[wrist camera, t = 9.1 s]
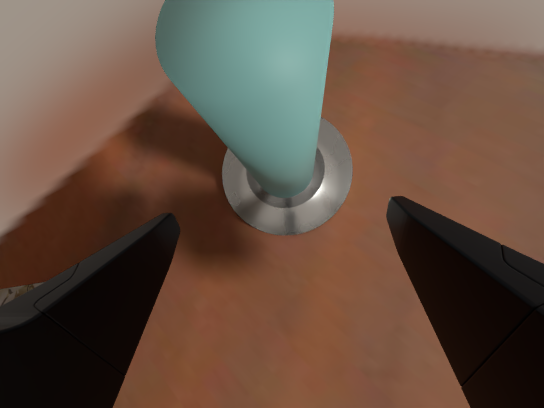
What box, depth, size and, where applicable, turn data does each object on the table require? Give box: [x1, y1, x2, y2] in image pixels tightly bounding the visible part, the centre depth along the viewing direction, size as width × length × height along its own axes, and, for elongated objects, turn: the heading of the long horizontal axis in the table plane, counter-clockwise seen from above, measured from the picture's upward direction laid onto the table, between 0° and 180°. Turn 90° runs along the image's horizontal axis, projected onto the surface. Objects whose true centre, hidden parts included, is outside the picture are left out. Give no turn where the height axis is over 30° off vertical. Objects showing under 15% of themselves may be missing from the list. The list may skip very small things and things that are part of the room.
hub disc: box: [222, 117, 353, 235], centre depth 18 cm, size 10×10×1 cm
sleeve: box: [155, 0, 334, 198], centre depth 11 cm, size 4×4×12 cm
